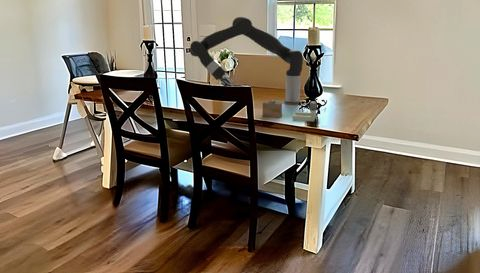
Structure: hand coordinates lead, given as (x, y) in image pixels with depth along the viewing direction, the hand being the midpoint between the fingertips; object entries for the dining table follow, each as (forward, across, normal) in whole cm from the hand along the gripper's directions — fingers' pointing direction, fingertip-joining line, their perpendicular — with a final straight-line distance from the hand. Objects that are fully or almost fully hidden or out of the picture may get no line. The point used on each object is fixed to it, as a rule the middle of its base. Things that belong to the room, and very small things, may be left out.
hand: (236, 92), depth 237 cm
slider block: (+24, 0, -5) cm, 25 cm away
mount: (+37, 0, -18) cm, 41 cm away
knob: (+36, -3, -26) cm, 44 cm away
